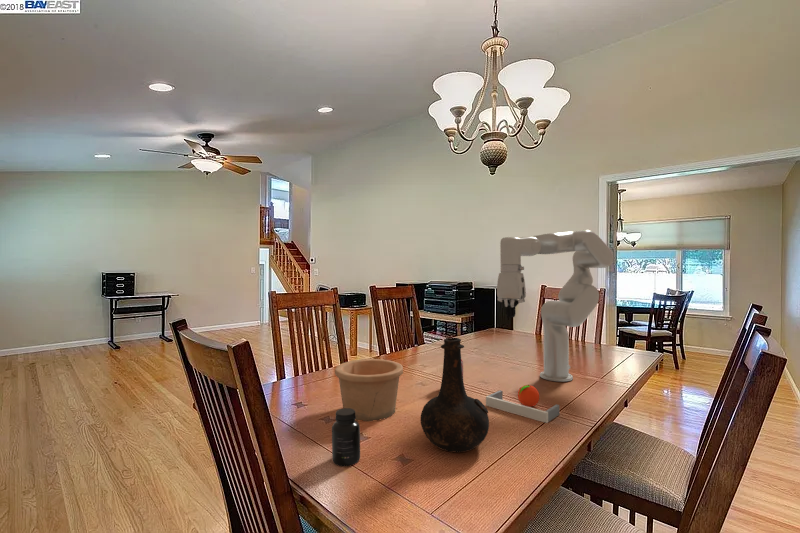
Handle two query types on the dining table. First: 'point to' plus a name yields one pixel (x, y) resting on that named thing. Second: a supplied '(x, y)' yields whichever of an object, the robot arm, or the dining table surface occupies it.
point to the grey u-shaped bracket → (521, 408)
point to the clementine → (528, 395)
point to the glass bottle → (454, 408)
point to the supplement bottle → (345, 438)
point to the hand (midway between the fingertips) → (510, 317)
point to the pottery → (369, 387)
